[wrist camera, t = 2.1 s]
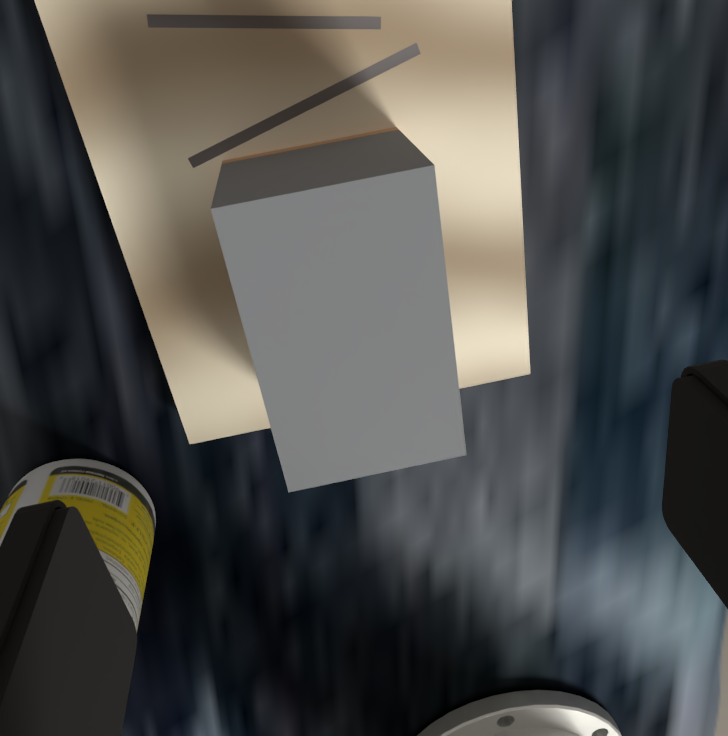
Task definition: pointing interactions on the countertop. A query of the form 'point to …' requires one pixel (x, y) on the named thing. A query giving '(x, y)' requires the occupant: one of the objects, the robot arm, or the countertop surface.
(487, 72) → the birch board
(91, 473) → the supplement bottle
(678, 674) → the countertop surface
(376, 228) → the block
